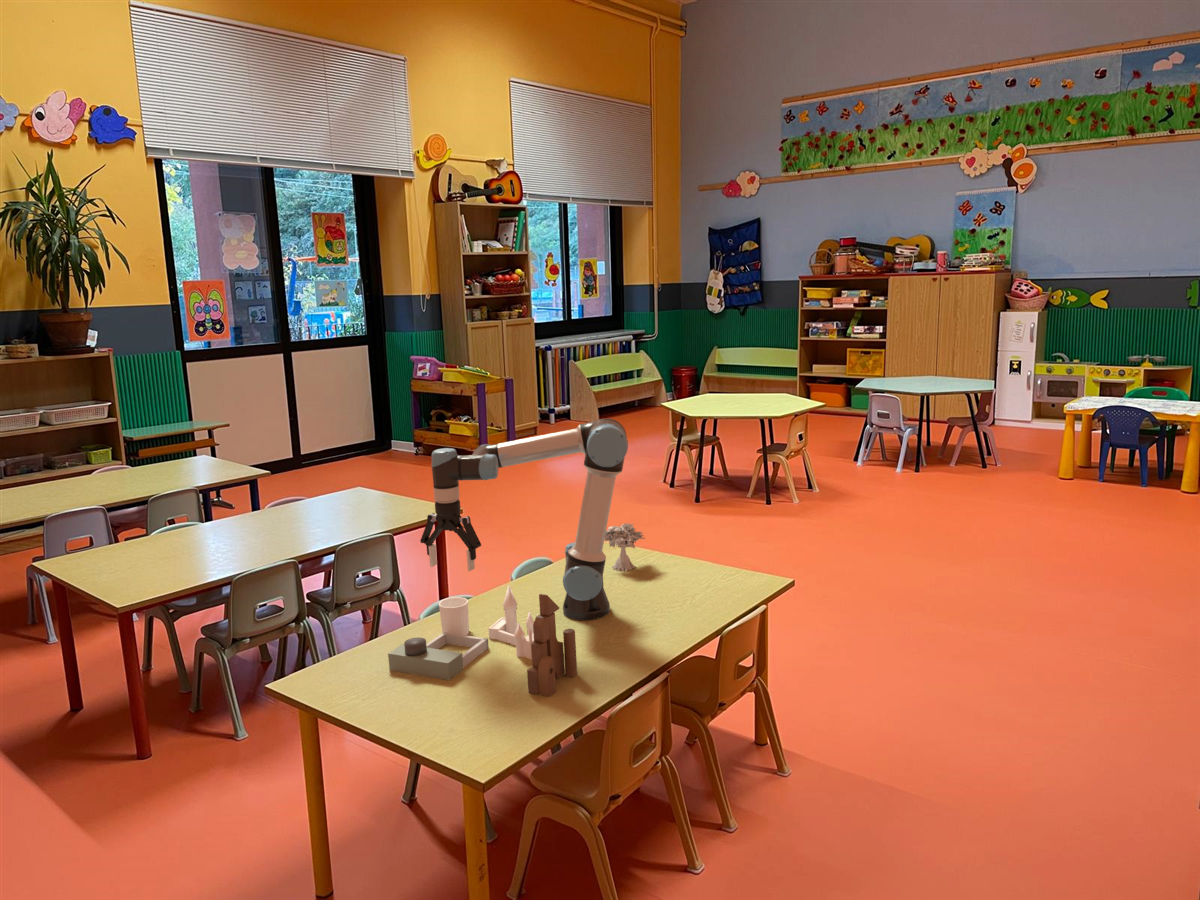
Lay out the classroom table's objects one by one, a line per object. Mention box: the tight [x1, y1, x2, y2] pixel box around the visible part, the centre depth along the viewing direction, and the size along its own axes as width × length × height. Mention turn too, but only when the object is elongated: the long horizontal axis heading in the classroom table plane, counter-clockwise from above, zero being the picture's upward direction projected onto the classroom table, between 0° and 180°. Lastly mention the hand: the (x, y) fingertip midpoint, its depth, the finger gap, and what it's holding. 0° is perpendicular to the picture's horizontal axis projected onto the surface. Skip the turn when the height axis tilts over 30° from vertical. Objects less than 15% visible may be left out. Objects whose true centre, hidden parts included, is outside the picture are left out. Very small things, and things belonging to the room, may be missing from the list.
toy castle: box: [488, 584, 539, 661], centre depth 263 cm, size 14×25×16 cm, turn 50°
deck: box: [387, 632, 489, 681], centre depth 255 cm, size 20×22×8 cm
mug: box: [438, 596, 470, 636], centre depth 273 cm, size 11×9×10 cm
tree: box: [604, 522, 646, 572], centre depth 327 cm, size 18×16×17 cm
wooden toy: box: [526, 593, 578, 697], centre depth 235 cm, size 15×7×25 cm, turn 152°
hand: (452, 567), depth 270 cm, fingers open, 13 cm apart
